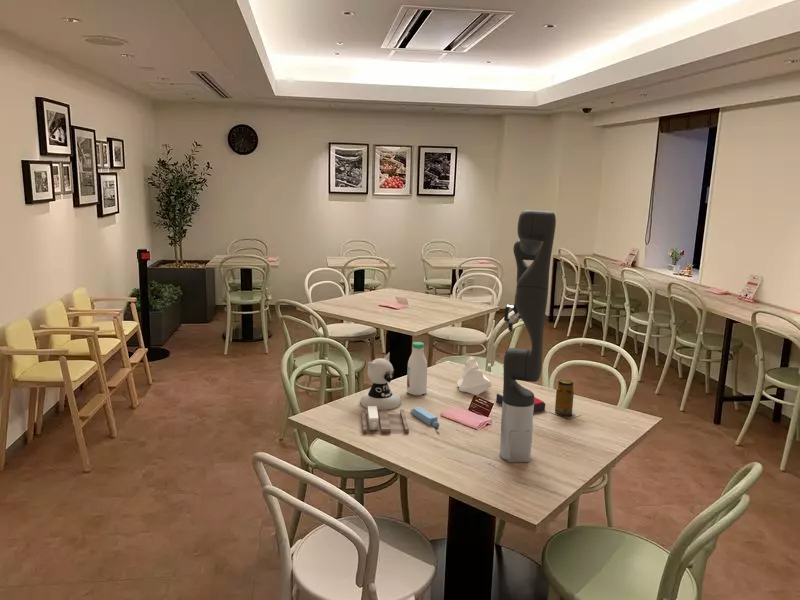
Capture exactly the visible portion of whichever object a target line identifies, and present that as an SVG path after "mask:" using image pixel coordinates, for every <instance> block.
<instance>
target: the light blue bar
mask: <svg viewBox="0 0 800 600" xmlns="http://www.w3.org/2000/svg"><path fill="white" fill-rule="evenodd" d="M410 413H411V414H412V416H414V417H416V418H418V419H419V420H421V421H422V422H423V423H425V424H427V425H429V426H432V427H433V428H434V429H438V428H439V427H440V423H439V422H438V416H436V415H435V414H433V413H431V412H430V411H428V410H426V409H425V408H423V407H421V406H415V407H412V408H410Z"/></svg>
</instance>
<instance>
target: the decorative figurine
mask: <svg viewBox="0 0 800 600" xmlns="http://www.w3.org/2000/svg"><path fill="white" fill-rule="evenodd" d="M390 354H391V353H390V351H389V352H388V353H387V354H386V355H385V356H384V358H375V359H373V360H372V361H367V364H368V366H367V372H366V373H367V377H368V379H369V380H370V381H371V382H372V383H371V387H370V389H369V390H367V391H366V392H364V393H363V394H362V396H361V397H360V405H361V406H362V407H363V408H366V409H368V406H377V411H378V410H387V411H388V410H393V409H396V408H398V407H400V406H401V404H402V398H401V396H400V395H399V393H397V392H395V391H393V390H391V388H390V386H389V384H390V382H391V381H392V380H393V379H392V378H393V377H394V376H395V375H396V371H394V367H393V364H392V363H391V362H390Z"/></svg>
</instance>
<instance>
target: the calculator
mask: <svg viewBox="0 0 800 600" xmlns="http://www.w3.org/2000/svg"><path fill="white" fill-rule="evenodd" d="M495 398H496V399H495V403H496V404H498V403H499V404H498V405H500V404H501V405H500V406H502V403H503V391H502V392H498V393H496V397H495ZM545 410H546V403H545V402H544V401H543V400H541V399H539V398H537V397H536V396H534V411H533V414H534V412H535V413H538V412H543V411H545Z"/></svg>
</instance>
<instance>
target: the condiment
mask: <svg viewBox="0 0 800 600" xmlns="http://www.w3.org/2000/svg"><path fill="white" fill-rule="evenodd" d="M555 390H556V393H555V403H554V410H551V411H550V413H551V414H553V415H555V416H560V417H563V418H565V419H574V418H577V417H579V416H581V414H580V413H578V412H574V411H573V407H574V406H573V405H574V391H575V390H574V382H573V381H572V380H570V379H559V380H558V381H557V387H556V389H555ZM554 411H555V412H554Z"/></svg>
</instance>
